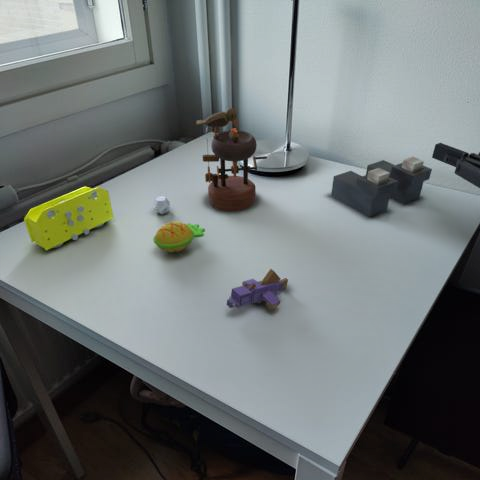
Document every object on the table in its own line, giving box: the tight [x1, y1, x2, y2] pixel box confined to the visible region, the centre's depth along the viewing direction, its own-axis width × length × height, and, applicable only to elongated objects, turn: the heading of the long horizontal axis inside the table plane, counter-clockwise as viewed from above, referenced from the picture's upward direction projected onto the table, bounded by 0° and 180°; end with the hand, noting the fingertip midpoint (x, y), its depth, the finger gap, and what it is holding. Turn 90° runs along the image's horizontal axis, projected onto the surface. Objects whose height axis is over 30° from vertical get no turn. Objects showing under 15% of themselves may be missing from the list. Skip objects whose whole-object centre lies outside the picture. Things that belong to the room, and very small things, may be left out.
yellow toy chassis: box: [23, 186, 115, 251], centre depth 90 cm, size 16×6×8 cm, turn 140°
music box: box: [195, 107, 268, 212], centre depth 98 cm, size 15×11×20 cm
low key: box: [402, 156, 425, 173], centre depth 99 cm, size 3×3×2 cm
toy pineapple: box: [152, 221, 206, 253], centre depth 87 cm, size 7×10×5 cm
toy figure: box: [226, 268, 289, 311], centre depth 75 cm, size 12×8×5 cm
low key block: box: [365, 159, 433, 205], centre depth 104 cm, size 13×6×7 cm, turn 34°
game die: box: [152, 195, 171, 215], centre depth 99 cm, size 4×4×3 cm
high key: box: [367, 168, 390, 185], centre depth 94 cm, size 3×3×2 cm
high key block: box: [330, 170, 398, 218], centre depth 99 cm, size 13×6×7 cm, turn 34°
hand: (436, 150), depth 92 cm, fingers closed
